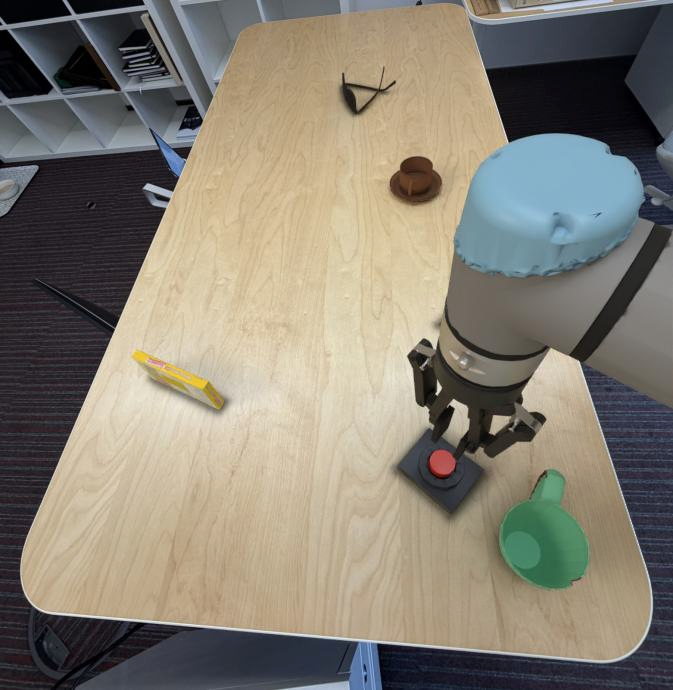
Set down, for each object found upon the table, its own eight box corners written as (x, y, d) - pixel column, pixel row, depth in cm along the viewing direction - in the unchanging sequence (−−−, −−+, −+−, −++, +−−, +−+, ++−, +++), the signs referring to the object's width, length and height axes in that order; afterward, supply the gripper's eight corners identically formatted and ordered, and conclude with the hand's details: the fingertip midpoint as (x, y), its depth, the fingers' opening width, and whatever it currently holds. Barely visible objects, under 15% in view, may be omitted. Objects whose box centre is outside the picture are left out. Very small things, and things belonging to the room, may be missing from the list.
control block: (481, 473, 63) (487, 466, 59) (450, 514, 60) (454, 510, 57) (428, 432, 67) (430, 423, 64) (397, 469, 65) (397, 462, 61)
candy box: (226, 400, 74) (209, 380, 67) (220, 410, 73) (201, 391, 66) (159, 369, 79) (136, 348, 72) (152, 378, 78) (128, 357, 71)
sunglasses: (400, 104, 116) (401, 86, 112) (351, 116, 116) (349, 98, 112) (384, 76, 125) (384, 58, 121) (338, 87, 125) (336, 69, 121)
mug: (552, 605, 53) (583, 607, 45) (476, 569, 56) (491, 565, 48) (571, 497, 60) (601, 481, 51) (502, 470, 63) (520, 451, 54)
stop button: (458, 463, 60) (460, 460, 59) (444, 482, 59) (445, 480, 58) (438, 448, 62) (439, 444, 60) (424, 466, 61) (424, 463, 59)
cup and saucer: (444, 204, 94) (447, 180, 89) (391, 208, 95) (391, 186, 90) (437, 170, 100) (440, 147, 95) (387, 175, 101) (387, 152, 96)
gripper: (377, 324, 34) (382, 424, 54) (560, 448, 27) (488, 510, 47) (433, 268, 36) (418, 384, 56) (614, 370, 29) (523, 460, 49)
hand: (450, 442), depth 51 cm, fingers open, 3 cm apart
